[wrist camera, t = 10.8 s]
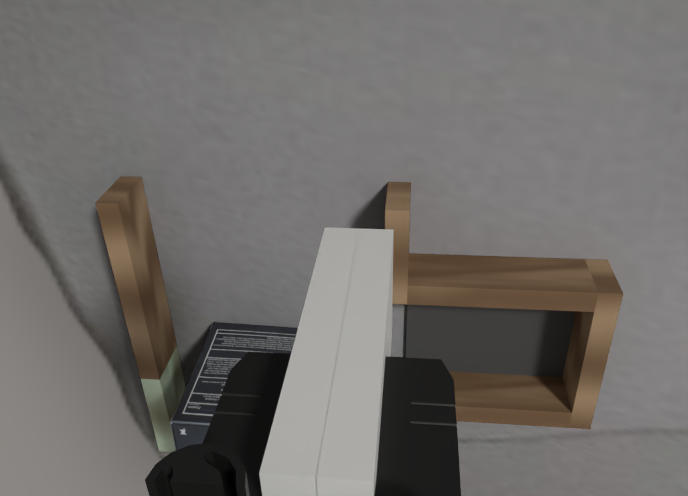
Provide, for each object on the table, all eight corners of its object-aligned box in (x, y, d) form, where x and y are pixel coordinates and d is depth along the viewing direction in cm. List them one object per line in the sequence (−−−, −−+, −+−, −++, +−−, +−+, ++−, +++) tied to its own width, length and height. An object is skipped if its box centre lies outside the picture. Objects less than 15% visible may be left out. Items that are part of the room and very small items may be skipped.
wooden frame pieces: (120, 176, 44) (95, 202, 41) (623, 186, 40) (642, 216, 37) (175, 415, 56) (159, 451, 52) (567, 439, 52) (577, 479, 49)
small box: (218, 381, 53) (177, 485, 44) (210, 319, 50) (164, 419, 41) (344, 391, 52) (328, 500, 43) (344, 329, 49) (327, 433, 40)
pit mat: (408, 271, 45) (408, 273, 45) (581, 277, 44) (582, 279, 44) (405, 366, 50) (405, 369, 50) (561, 374, 49) (562, 377, 49)
